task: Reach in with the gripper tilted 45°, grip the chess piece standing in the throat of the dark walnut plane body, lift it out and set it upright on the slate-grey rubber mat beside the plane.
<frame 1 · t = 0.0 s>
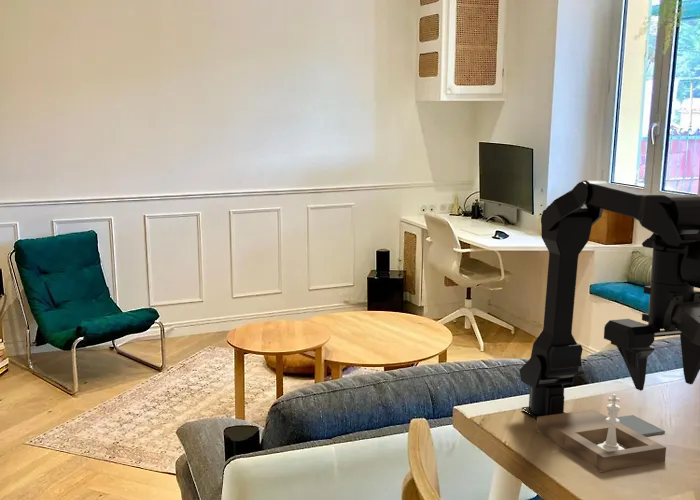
hand: (664, 386, 103), 15 cm above the table, tool pointing down, fingers open, 9 cm apart
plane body: (610, 453, 114), on the table
rubber mat: (630, 427, 125), on the table
chess piece: (610, 454, 114), resting in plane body
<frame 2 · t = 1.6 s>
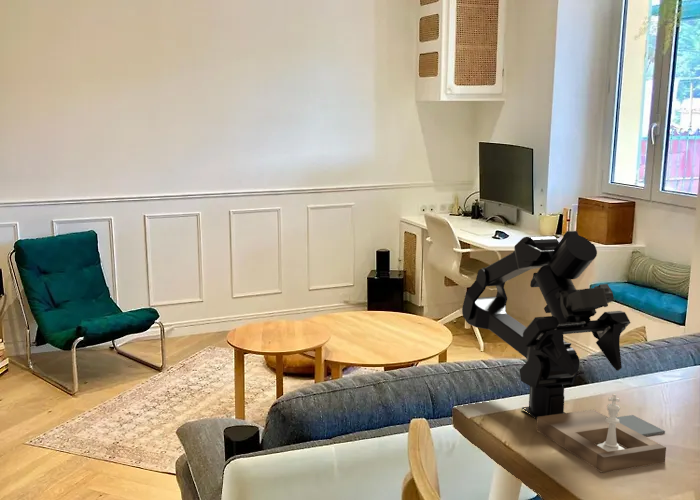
hand: (596, 372, 117), 12 cm above the table, tool tilted 45°, fingers open, 9 cm apart
nothing on the table moved.
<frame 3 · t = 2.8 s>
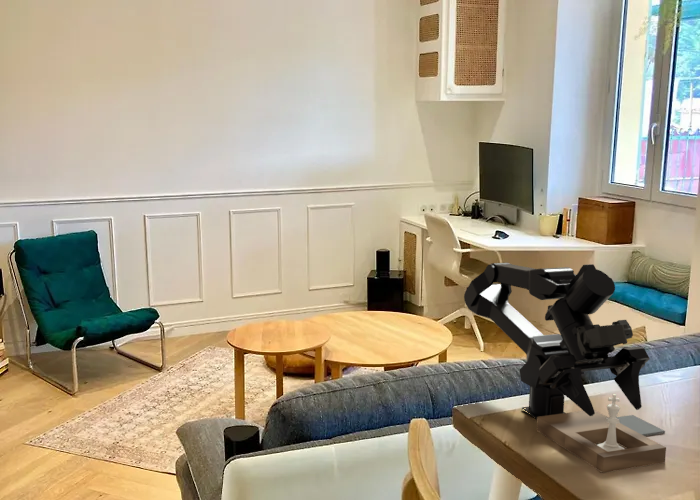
hand: (616, 411, 113), 7 cm above the table, tool tilted 45°, fingers open, 9 cm apart
nothing on the table moved.
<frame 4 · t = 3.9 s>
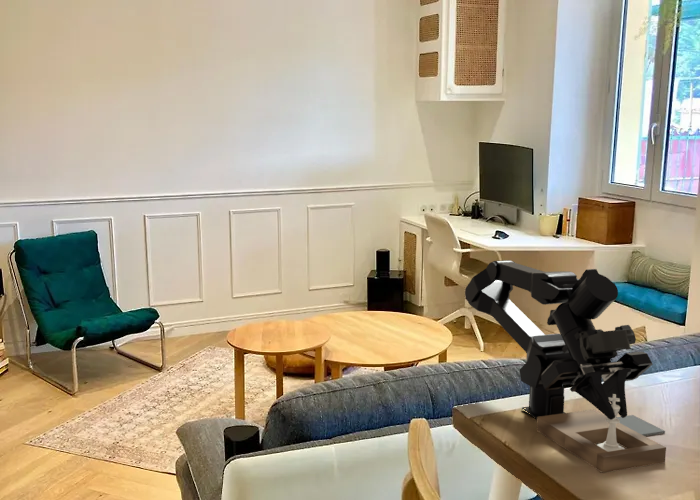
hand: (619, 417, 112), 7 cm above the table, tool tilted 45°, fingers closed on chess piece
chess piece: (610, 454, 114), resting in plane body, touching gripper
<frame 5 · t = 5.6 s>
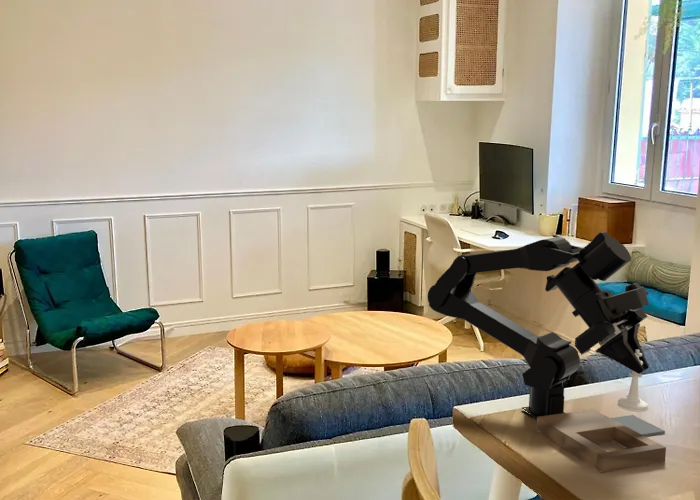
hand: (644, 370, 118), 12 cm above the table, tool tilted 45°, fingers closed on chess piece
chess piece: (632, 407, 120), point 5 cm above the table, touching gripper
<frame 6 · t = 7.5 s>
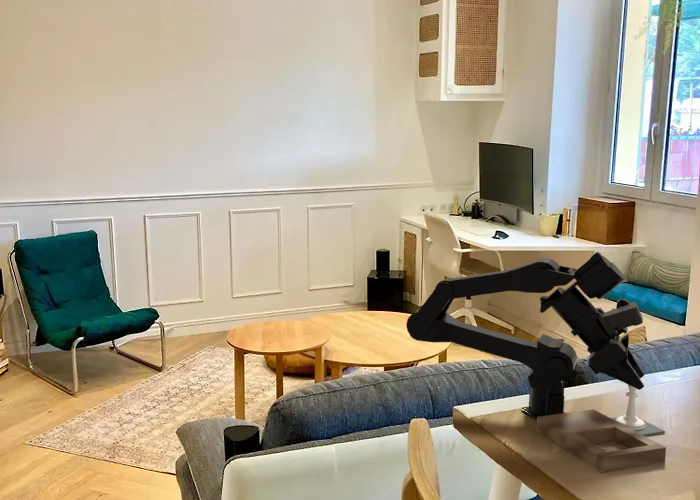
hand: (642, 382, 124), 9 cm above the table, tool tilted 45°, fingers open, 6 cm apart
chess piece: (630, 426, 125), resting on rubber mat
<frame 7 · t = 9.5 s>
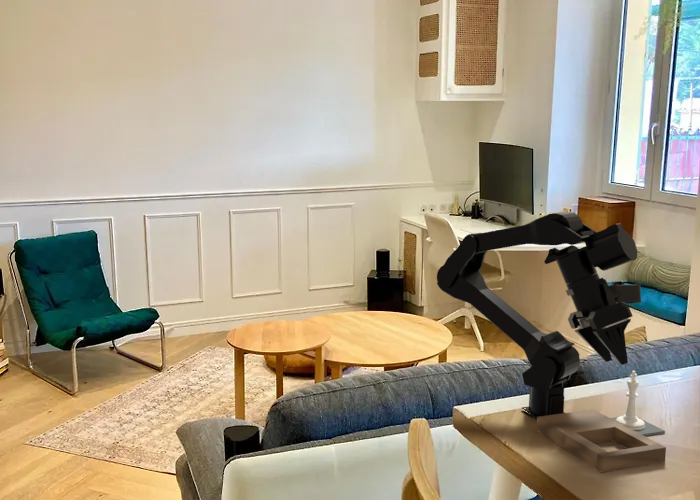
hand: (616, 362, 122), 13 cm above the table, tool tilted 25°, fingers open, 9 cm apart
nothing on the table moved.
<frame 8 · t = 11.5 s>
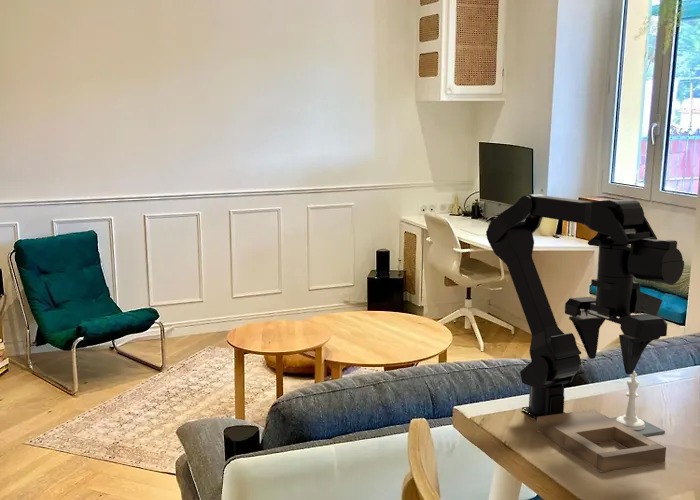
hand: (609, 366, 118), 13 cm above the table, tool pointing down, fingers open, 9 cm apart
nothing on the table moved.
at the end: chess piece inside the target area (0.1 cm from its centre), resting on rubber mat; chess piece tilted 0°; the gripper is holding nothing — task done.
